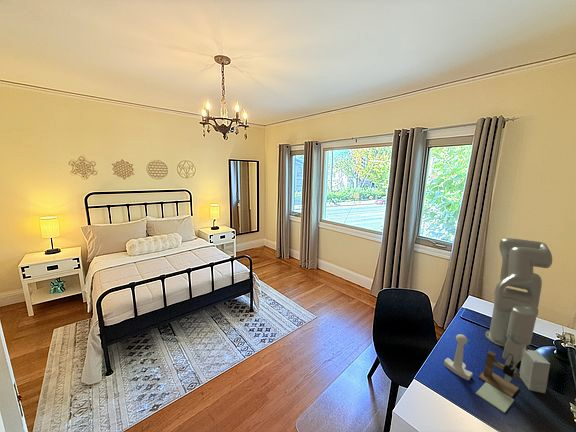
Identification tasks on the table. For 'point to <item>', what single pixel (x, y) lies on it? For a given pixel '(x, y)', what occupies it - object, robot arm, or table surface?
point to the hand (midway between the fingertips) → (511, 370)
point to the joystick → (459, 359)
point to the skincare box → (534, 371)
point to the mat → (495, 397)
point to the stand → (495, 379)
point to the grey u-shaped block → (509, 376)
